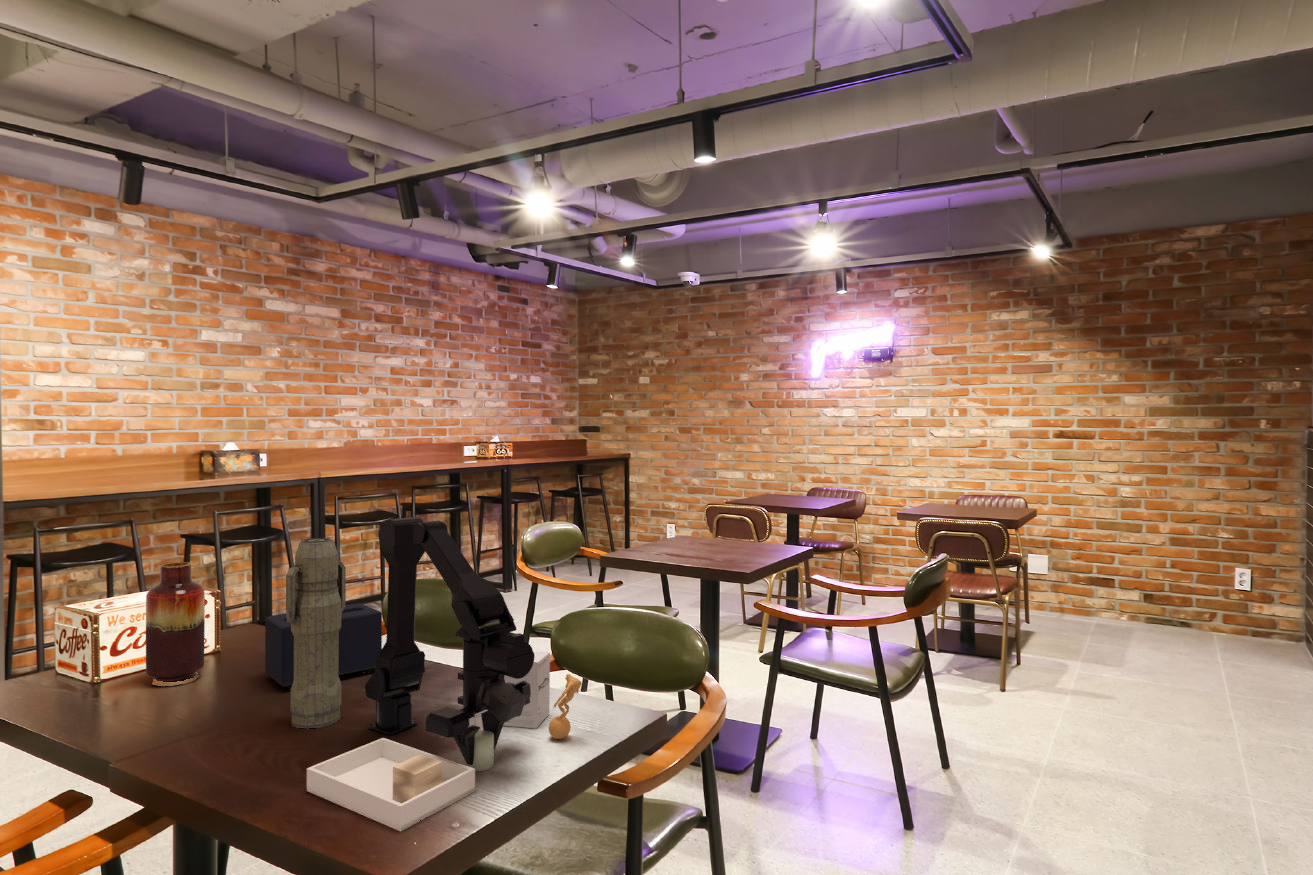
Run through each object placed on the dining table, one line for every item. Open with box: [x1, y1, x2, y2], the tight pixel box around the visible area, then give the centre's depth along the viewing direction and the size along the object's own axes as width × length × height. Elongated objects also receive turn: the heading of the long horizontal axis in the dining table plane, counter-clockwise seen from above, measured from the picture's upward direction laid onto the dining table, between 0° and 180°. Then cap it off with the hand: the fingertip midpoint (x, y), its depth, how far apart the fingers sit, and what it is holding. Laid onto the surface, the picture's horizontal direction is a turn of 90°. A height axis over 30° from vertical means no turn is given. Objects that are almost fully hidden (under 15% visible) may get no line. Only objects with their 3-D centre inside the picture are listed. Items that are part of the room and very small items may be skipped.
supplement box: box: [503, 650, 551, 729], centre depth 144 cm, size 7×7×13 cm
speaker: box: [264, 602, 383, 689], centre depth 171 cm, size 22×13×15 cm, turn 133°
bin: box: [306, 737, 476, 833], centre depth 115 cm, size 22×14×4 cm, turn 58°
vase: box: [145, 561, 206, 682], centre depth 167 cm, size 11×11×26 cm
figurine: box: [548, 673, 582, 740], centre depth 136 cm, size 8×6×12 cm
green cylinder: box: [466, 730, 495, 772], centre depth 125 cm, size 4×4×5 cm
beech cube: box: [393, 755, 442, 803], centre depth 112 cm, size 5×5×5 cm
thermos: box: [285, 537, 347, 730], centre depth 144 cm, size 9×12×35 cm
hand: (480, 759), depth 125 cm, fingers closed on green cylinder, 4 cm apart
